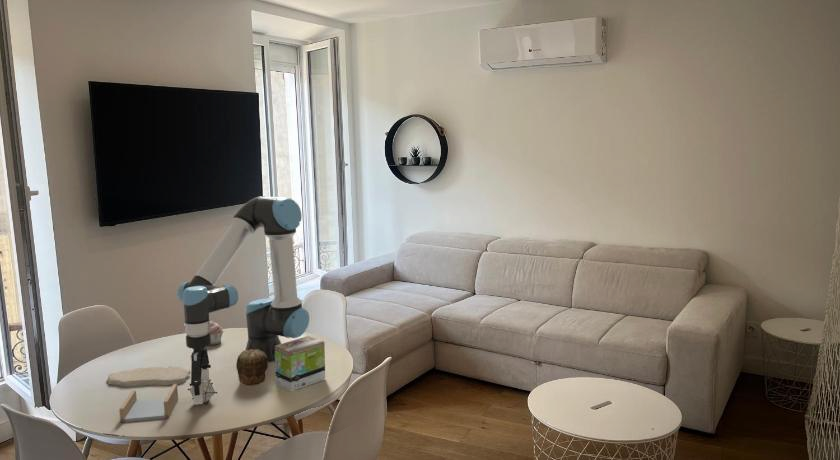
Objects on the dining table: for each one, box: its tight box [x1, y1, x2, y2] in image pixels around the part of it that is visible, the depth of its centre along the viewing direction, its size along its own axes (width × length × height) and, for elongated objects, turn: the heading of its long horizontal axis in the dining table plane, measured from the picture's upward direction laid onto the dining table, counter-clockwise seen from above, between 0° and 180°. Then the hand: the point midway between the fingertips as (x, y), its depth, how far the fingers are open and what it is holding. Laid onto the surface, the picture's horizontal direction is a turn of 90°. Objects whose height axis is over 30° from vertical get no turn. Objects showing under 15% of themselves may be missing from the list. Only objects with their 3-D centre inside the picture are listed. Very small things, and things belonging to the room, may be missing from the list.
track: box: [118, 384, 179, 423], centre depth 203 cm, size 14×14×6 cm
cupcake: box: [209, 320, 225, 346], centre depth 267 cm, size 9×9×10 cm
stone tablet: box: [107, 366, 191, 388], centre depth 231 cm, size 16×30×2 cm, turn 92°
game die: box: [187, 378, 218, 406], centre depth 208 cm, size 9×8×10 cm
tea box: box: [274, 335, 326, 393], centre depth 222 cm, size 15×10×15 cm, turn 137°
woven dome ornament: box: [235, 349, 269, 386], centre depth 224 cm, size 11×11×12 cm
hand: (202, 395), depth 208 cm, fingers open, 13 cm apart
